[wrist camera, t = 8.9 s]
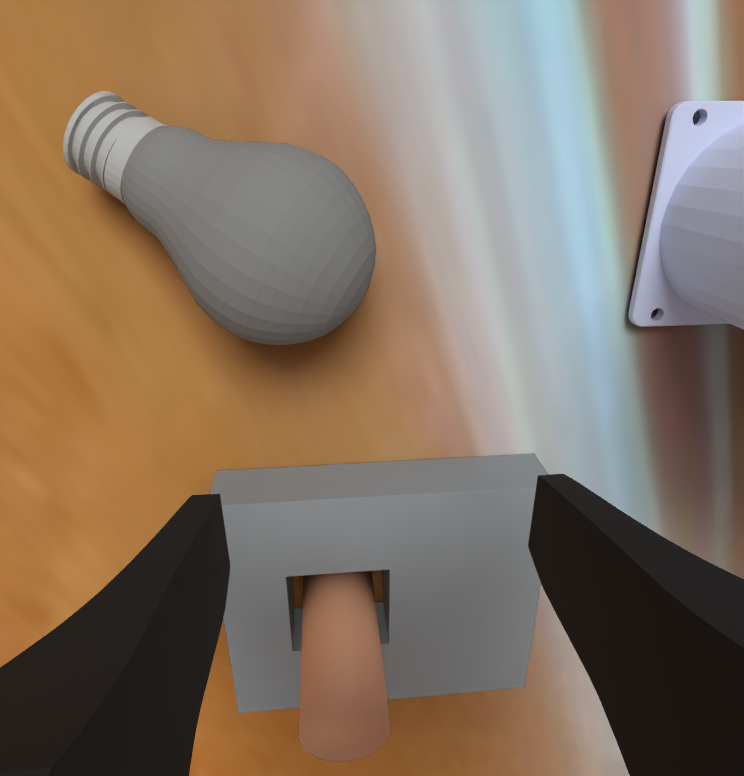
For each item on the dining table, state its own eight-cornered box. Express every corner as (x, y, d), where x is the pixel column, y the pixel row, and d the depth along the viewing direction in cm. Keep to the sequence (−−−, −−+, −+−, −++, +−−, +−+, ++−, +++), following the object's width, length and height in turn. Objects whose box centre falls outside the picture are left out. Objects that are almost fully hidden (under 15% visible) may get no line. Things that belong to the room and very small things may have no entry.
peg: (357, 533, 26) (373, 690, 18) (379, 581, 27) (402, 745, 20) (293, 555, 26) (284, 718, 18) (318, 602, 27) (318, 771, 20)
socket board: (534, 453, 25) (556, 485, 22) (508, 645, 30) (524, 687, 27) (216, 470, 23) (205, 506, 21) (245, 667, 28) (238, 713, 26)
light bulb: (119, -28, 15) (434, 174, 15) (157, 127, 20) (386, 271, 21) (-42, 120, 13) (323, 346, 13) (50, 245, 19) (303, 400, 19)
